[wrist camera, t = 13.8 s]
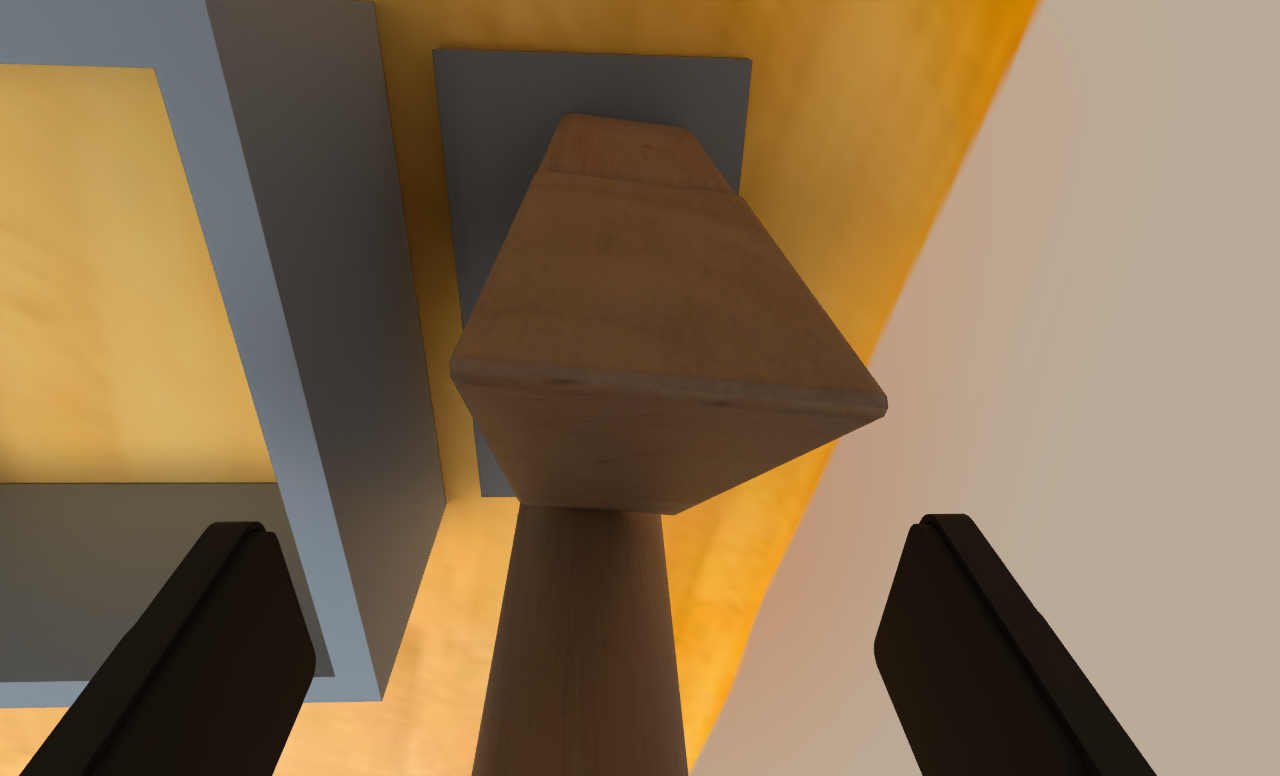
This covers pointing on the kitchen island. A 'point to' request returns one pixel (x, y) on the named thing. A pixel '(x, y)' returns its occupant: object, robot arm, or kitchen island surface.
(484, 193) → the place mat
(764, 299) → the brown piece
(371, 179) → the box
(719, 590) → the kitchen island surface
